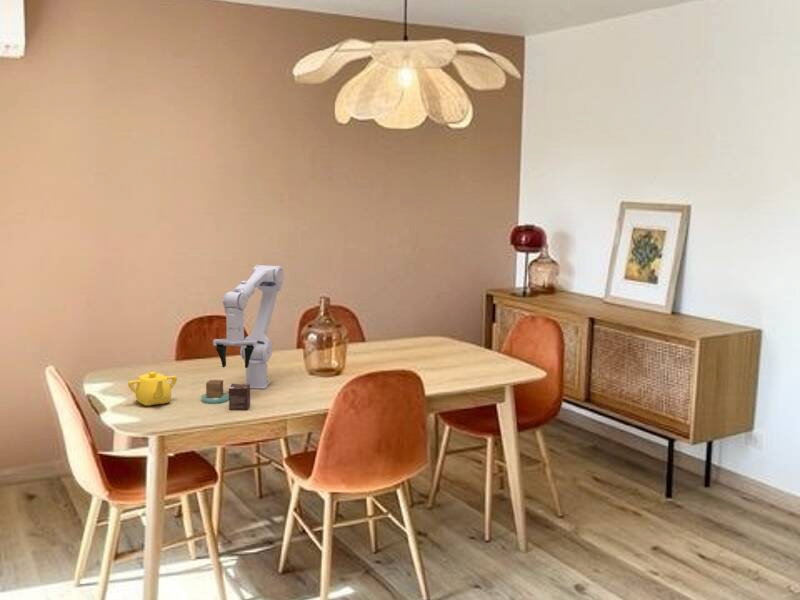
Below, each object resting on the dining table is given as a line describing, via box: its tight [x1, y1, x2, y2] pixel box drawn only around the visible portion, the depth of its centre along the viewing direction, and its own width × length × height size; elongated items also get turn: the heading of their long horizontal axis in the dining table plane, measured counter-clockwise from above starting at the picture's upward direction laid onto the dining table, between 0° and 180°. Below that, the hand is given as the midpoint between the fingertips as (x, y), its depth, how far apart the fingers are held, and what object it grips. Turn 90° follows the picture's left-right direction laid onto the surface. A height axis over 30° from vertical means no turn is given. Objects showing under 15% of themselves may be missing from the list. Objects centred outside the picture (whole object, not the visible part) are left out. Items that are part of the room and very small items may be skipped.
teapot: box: [127, 371, 178, 407], centre depth 269 cm, size 14×13×10 cm
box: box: [228, 383, 251, 411], centre depth 266 cm, size 6×6×7 cm
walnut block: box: [205, 379, 224, 398], centre depth 273 cm, size 4×4×5 cm
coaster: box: [200, 392, 229, 405], centre depth 274 cm, size 9×9×2 cm
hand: (235, 366), depth 277 cm, fingers open, 7 cm apart
